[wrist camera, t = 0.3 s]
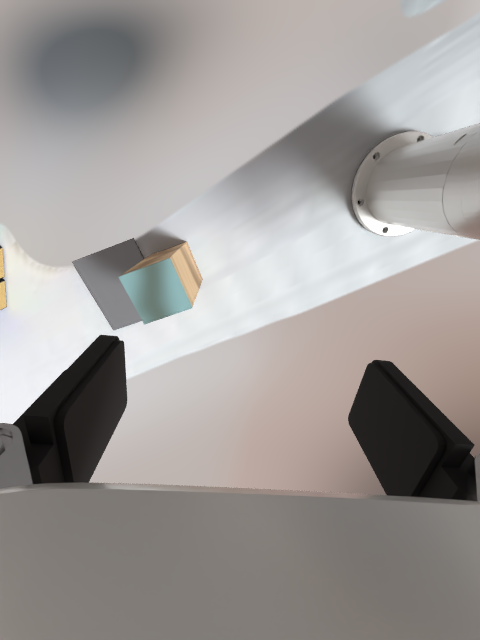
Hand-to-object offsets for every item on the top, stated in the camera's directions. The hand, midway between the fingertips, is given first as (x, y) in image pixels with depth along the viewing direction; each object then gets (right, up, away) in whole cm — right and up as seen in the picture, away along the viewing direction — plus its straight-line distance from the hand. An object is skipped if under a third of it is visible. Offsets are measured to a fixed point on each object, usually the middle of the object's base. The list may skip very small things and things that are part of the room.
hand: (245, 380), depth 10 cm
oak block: (-10, +10, +31) cm, 34 cm away
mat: (-18, +7, +31) cm, 37 cm away
